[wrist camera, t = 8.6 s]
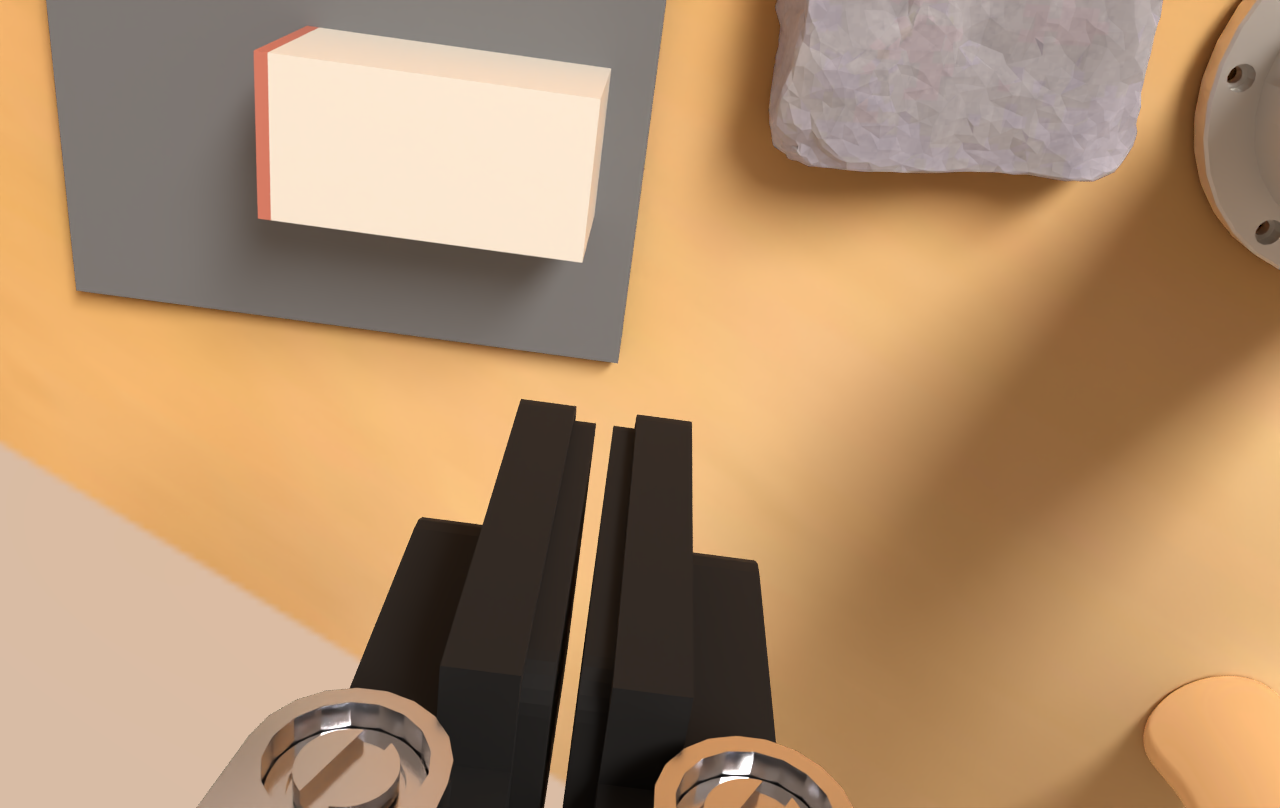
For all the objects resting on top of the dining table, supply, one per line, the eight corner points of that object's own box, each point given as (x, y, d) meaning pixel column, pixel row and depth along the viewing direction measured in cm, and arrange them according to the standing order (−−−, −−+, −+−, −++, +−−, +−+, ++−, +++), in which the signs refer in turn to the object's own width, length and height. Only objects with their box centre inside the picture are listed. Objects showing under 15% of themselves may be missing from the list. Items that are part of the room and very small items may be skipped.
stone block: (774, -150, 36) (756, 165, 39) (795, -188, 31) (773, 174, 34) (1140, -138, 36) (1098, 176, 39) (1214, -173, 32) (1161, 186, 34)
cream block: (307, 25, 36) (611, 68, 37) (307, 175, 39) (594, 214, 39) (253, 50, 32) (600, 99, 32) (257, 218, 34) (582, 262, 34)
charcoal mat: (680, -110, 35) (680, -108, 34) (619, 354, 42) (618, 363, 41) (38, -202, 34) (25, -203, 34) (86, 282, 42) (76, 290, 41)
